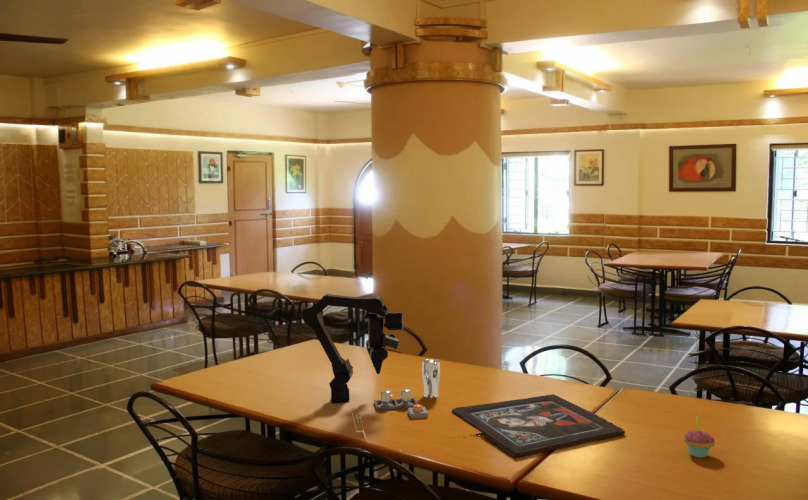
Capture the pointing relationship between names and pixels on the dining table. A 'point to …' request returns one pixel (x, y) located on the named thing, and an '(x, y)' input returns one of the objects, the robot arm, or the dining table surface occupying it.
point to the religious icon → (536, 424)
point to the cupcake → (698, 442)
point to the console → (418, 413)
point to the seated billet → (406, 397)
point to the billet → (386, 398)
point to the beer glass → (431, 377)
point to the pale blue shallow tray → (357, 419)
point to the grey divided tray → (395, 405)
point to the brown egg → (417, 408)
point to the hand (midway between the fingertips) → (376, 370)
